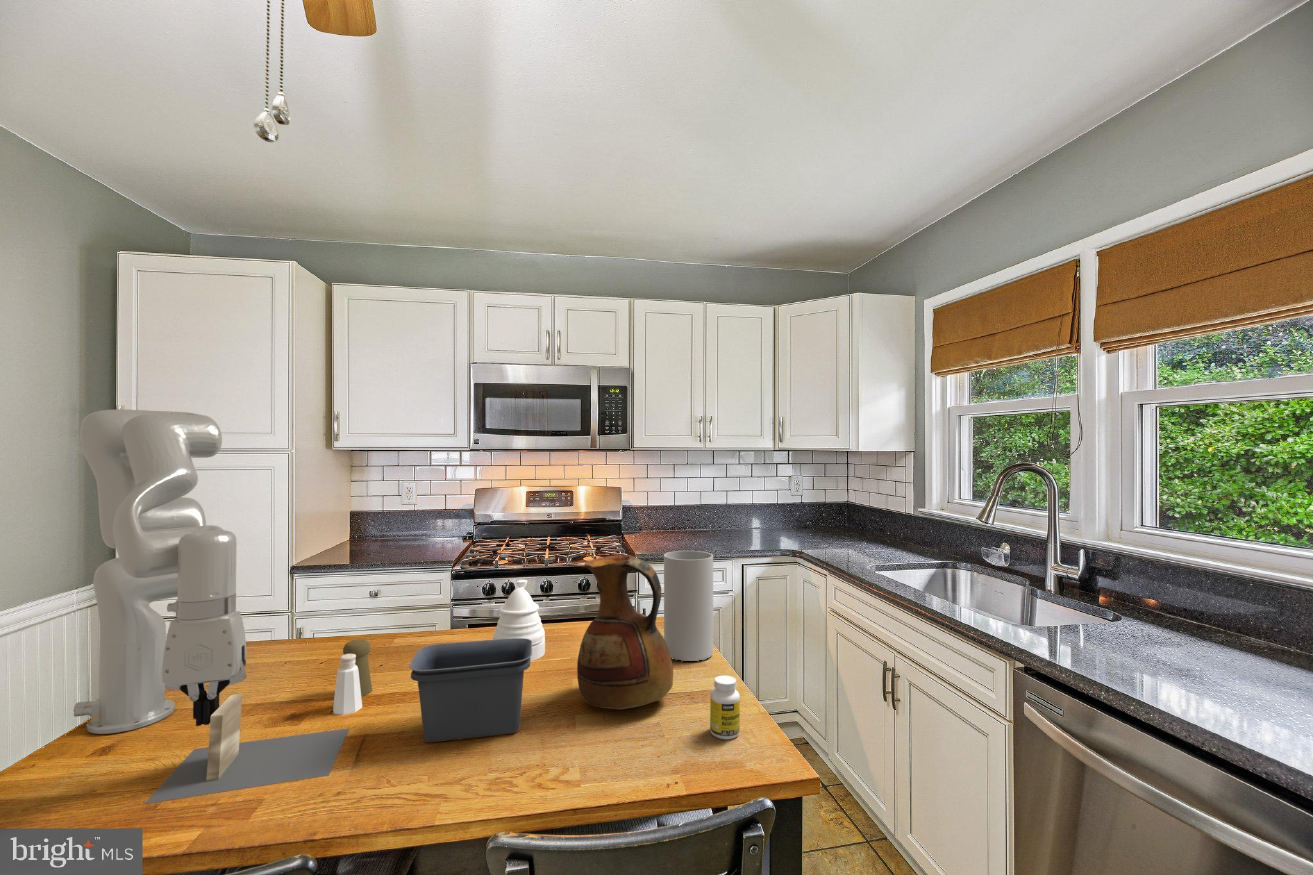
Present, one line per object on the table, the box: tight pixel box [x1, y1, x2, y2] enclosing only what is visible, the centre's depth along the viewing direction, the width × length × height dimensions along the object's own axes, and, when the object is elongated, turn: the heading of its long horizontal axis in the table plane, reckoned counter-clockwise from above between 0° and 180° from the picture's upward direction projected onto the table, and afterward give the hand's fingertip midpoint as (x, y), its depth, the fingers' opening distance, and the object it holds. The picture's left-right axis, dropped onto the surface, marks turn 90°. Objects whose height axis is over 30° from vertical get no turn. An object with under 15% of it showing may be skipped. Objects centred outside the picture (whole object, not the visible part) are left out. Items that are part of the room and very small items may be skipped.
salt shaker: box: [332, 654, 363, 716], centre depth 114 cm, size 5×5×11 cm
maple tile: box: [207, 693, 243, 781], centre depth 94 cm, size 2×8×10 cm, turn 18°
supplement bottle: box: [709, 675, 741, 740], centre depth 105 cm, size 5×5×10 cm
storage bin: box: [408, 638, 532, 743], centre depth 108 cm, size 21×16×14 cm
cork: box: [342, 638, 373, 698], centre depth 123 cm, size 6×6×11 cm
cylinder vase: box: [663, 550, 714, 662], centre depth 146 cm, size 12×12×25 cm
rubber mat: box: [143, 727, 350, 805], centre depth 95 cm, size 24×16×1 cm, turn 108°
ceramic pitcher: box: [576, 554, 674, 710], centre depth 119 cm, size 20×20×30 cm
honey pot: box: [492, 579, 546, 662], centre depth 146 cm, size 13×13×18 cm
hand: (206, 721), depth 93 cm, fingers closed
